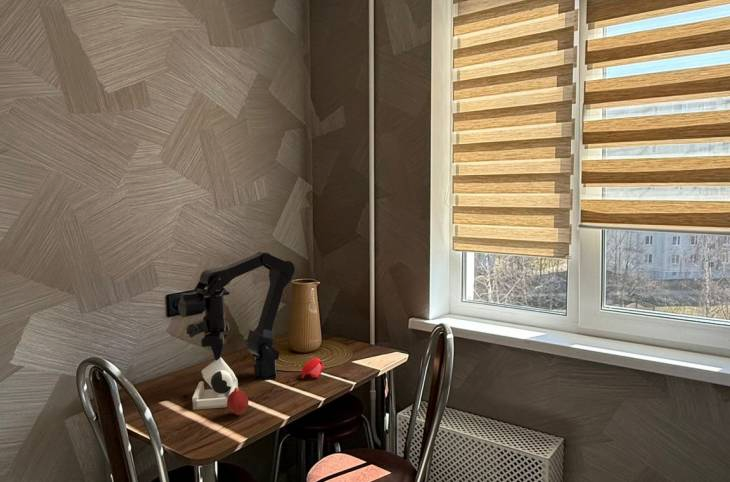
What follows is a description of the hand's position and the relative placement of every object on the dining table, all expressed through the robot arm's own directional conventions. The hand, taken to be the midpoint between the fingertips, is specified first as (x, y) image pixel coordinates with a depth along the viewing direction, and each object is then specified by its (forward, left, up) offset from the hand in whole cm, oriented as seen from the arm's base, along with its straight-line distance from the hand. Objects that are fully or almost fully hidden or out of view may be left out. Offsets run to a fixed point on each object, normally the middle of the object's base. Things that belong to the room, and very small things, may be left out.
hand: (217, 360), depth 177 cm
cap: (-29, -5, -10) cm, 31 cm away
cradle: (0, +8, -10) cm, 12 cm away
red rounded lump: (-8, +20, -10) cm, 24 cm away
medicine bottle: (0, -1, -4) cm, 4 cm away
